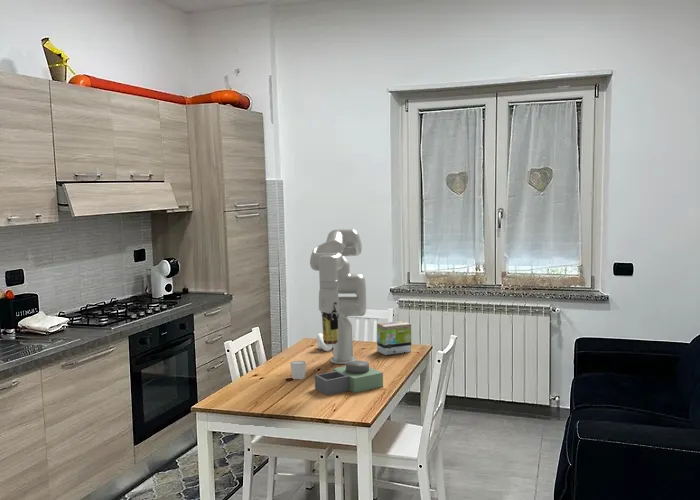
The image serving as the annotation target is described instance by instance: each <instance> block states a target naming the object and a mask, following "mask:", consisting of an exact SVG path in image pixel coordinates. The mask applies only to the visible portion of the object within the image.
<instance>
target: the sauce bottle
mask: <svg viewBox="0 0 700 500" xmlns="http://www.w3.org/2000/svg"><path fill="white" fill-rule="evenodd" d="M332 312H335V311H332ZM333 316H334V314H333ZM321 320H322V321H321V322H322V323H323V326H322V333H323V340H324V343H325V344H336V343H337V342H338V329H334V330H331V324H330V320H331V316H330V314H327V313H325V312H323V314H322V313H321Z"/></svg>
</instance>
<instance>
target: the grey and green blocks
mask: <svg viewBox="0 0 700 500" xmlns="http://www.w3.org/2000/svg"><path fill="white" fill-rule="evenodd" d="M383 387H384V372H382V371H381V370H378V369H376V368H372V367H370V363H369V362H368V361H366V360H356V361H350V362H347V363H346V364H345V366H339V367H335V368H332V371H328V372H324V373H317V374H315V375H314V388H315V390H316V391H319V392H320V393H322V394H323V393H324V395H325V396H330V395H333V394H339V393H344V392H348V391H351V392H352V393H354V394H355V393H359V392H364V391H369V390H370V391H371V390H373V389H379V388H383Z"/></svg>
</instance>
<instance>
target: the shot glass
mask: <svg viewBox="0 0 700 500" xmlns="http://www.w3.org/2000/svg"><path fill="white" fill-rule="evenodd" d="M289 364H290V369H291V370H290V371H291V378H292V379H293V380H295V379H300V380H303V378H304V379H305V378H306V367H307V366H306V365H307V362H306V361H305V360H295V361H291V362H290V363H289Z"/></svg>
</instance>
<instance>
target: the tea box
mask: <svg viewBox="0 0 700 500" xmlns="http://www.w3.org/2000/svg"><path fill="white" fill-rule="evenodd" d="M376 351H377V352H379V353H380V354H382V355H384V356H387V355H388V356H389V355H395V354H396V355H397V354H403V353H404V352H405V353H411V352H412V324H411V323H409V322H406V321H404V320H398V321H396V320H395V321H388V322H379V323H378V322H377V324H376ZM410 351H411V352H410ZM405 353H404V354H405Z"/></svg>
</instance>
